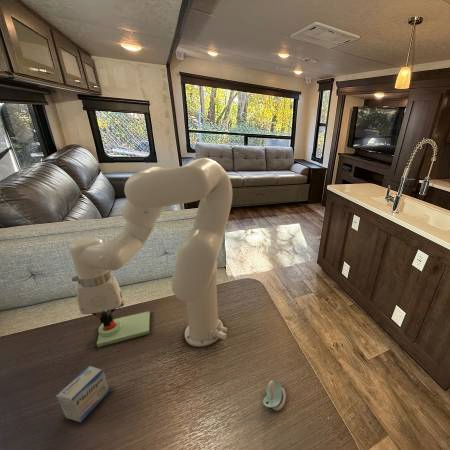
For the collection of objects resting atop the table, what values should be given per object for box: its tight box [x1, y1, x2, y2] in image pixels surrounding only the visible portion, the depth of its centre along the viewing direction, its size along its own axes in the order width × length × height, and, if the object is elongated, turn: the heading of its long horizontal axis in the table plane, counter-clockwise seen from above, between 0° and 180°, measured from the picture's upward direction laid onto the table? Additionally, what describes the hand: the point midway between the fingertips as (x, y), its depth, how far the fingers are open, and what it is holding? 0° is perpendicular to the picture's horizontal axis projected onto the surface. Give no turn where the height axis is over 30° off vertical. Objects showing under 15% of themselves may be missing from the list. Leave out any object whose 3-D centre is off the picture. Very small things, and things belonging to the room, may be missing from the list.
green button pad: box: [96, 311, 151, 348], centre depth 84 cm, size 14×10×3 cm
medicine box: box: [55, 365, 110, 423], centre depth 61 cm, size 8×4×9 cm, turn 168°
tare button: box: [103, 320, 115, 331], centre depth 82 cm, size 3×3×2 cm
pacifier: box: [262, 379, 287, 411], centre depth 67 cm, size 7×6×6 cm
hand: (107, 323), depth 81 cm, fingers closed
